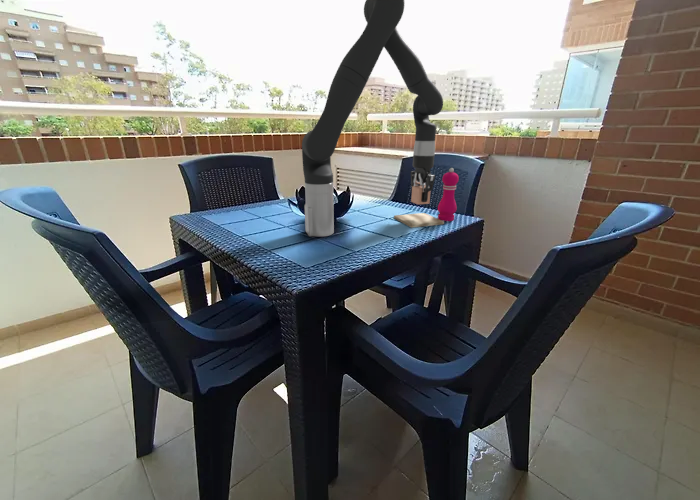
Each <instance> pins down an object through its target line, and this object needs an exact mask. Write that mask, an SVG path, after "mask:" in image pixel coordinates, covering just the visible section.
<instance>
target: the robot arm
mask: <svg viewBox="0 0 700 500" xmlns="http://www.w3.org/2000/svg"><path fill="white" fill-rule="evenodd" d="M404 11H405V0H365V2H364V6H363V15H364V19H365V22H366V26H365V28H364V30H363V31H362V33H361V35H360V36H359V37H358V38H357V40H356V41H355V43H354V44H353V45H352V46H351V47H350V49H349V51H347V53H346V54H345V56H344V57H343V59H342V61H341V62H340V64H339V66H338V68H337V70H336V72H335V74H334V76H333V79H332V81H331V84H330V87H329V90H328V94H327V97H326V101H325V106H324V108H323V111H322V113H321V114H320V117H319V118H318V121H316V122H317V123H316V124H315V126H314V128H313V129H312V130H309V131H308V132H306V133H305V134H304V136H303V138H302V142H301V156H302V168H303V169H302V171H303V175H304V191H305V196H304V197H305V204H304V224H305V225H304V227H305V232H306V234H307V236H308V237H328V236H331V235H333V234H334V232H335V229H334V228H335V225H334V222H335V219H334V218H335V217H334V214H335V213H334V211H335V210H334V206H335V205H334V174H333V170H332V164H331V161H332V160H331V157H332V156H333V154H334V152H335V150H336V147H337V145H338V142H339V140H340V139H339V138H340V136H341V134H342V131H343V129H344V126H345V124H346V122H347V120H348V119H349V117H350V115H351V113H352V112H353V110H354V108H355V106H356V104H357V102H358V100H359V98H360V97H361V95H362V93H363V92H364V90H365V87H366V85H367V83H368V81H369V79H370V76H371V74H372V72H373V70H374V68H375V66H376V64H377V62H378V60H379V58H380V55H381V53H382V51H383V49H384V50H385V51H386V52H387V54H388V55H389V56H390V58H391V59H392V61H393V63H394V65H395V66H396V68H397V70H398V72H399V73H400V75H401V77H402V79H403V82H404V85H405V86H406V88H407V90H408V91H409V92H410V93H411V94H414V95H417V96H416V97H415V98H414V100H413V105H412V115H413V120H414V125H415V134H414V135H415V137H414V146H413V156H412V167H413V168H414V170H412V171H410V187H411V188H412V186H421V187H422V197H421V202H427V199H428V192H429V191H431V192H432V191H433V188H434V184H435V180H436V175H435V174H432V173H431V169H432V168H434V167H435V166H434V163H435V153H436V136H437V135H436V133H437V126H436V124H435V123H434V122H431V121H430V117H429V116H435V115H438V114H440V112H441V111H442V109H443V107H444V98H443V95H442V93H441V92H440V90H439V89H438V88H437V86H436V85H435V84H434V82H433V81H431V79H430V78H429V77H428V74H427V72H426V69H425V67H424V65H423V64H422V61H421V60H420V57H418V55H417V54H416V52H415V51H414V50H413V49H412V48H411V47H410V46H409V44H407V42H406V41H405V40H404V38H403V36H401V34H400V33H399V30H398V28H397V26H398V25H399V23H400V21H401V19H402V18H403V14H404ZM424 186H425V187H424ZM429 187H430V188H429Z"/></svg>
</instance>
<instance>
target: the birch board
mask: <svg viewBox="0 0 700 500" xmlns="http://www.w3.org/2000/svg"><path fill="white" fill-rule="evenodd" d="M393 219H395V220H397V221H398V222H401V223H402V224H404V225H405V226H408V227H410V228H420V227H428V226H429V227H431V226H439V225H444V224H445V221H442V220H439V219H438V217H435V216H432V215H430V214H428V213H425V212H422V213H421V212H420V213H408V214H397V215H393Z"/></svg>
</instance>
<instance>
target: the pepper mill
mask: <svg viewBox="0 0 700 500" xmlns="http://www.w3.org/2000/svg"><path fill="white" fill-rule="evenodd" d="M454 169H455V168H453V167H450V168H449V169H448V172H446V173H444V174H443V175H442V183H443V185H442V189H443V193H442V197H441V199H440V201H439V203H438V205H437V211H438V215H437V219H439V220H441V221H444V222H453V221H454V220H455V213H456V212H457V208H458V207H457V202H456V200H455V192H456V191H455V190H457V184H458V183H459V175H458V174H457V173H456V172H454V171H455V170H454Z"/></svg>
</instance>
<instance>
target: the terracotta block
mask: <svg viewBox="0 0 700 500" xmlns="http://www.w3.org/2000/svg"><path fill="white" fill-rule="evenodd" d="M424 187H425V186H424ZM429 188H430V186H429ZM431 192H432V191H429V192H428V199H427V202H421V197H422V187H421V186H412V187H411V200H410V201H411V203H413V204H416V205H428V204H429V205H430V204H431V203H430V202H431V201H430V200H431Z"/></svg>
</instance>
